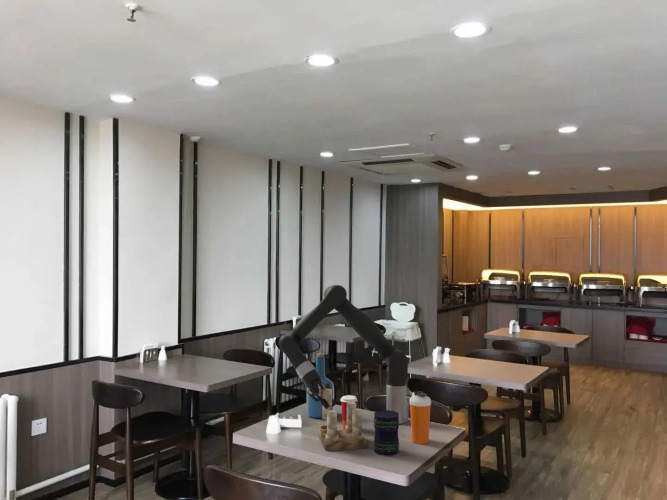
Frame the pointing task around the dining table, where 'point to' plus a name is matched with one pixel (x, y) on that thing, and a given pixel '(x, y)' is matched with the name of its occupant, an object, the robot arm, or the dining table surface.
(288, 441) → the dining table surface
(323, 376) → the wine bottle
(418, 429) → the shaker bottle
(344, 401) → the paper cup
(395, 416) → the storage jar
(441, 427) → the dining table surface
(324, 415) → the leg
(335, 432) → the stool
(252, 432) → the dining table surface
